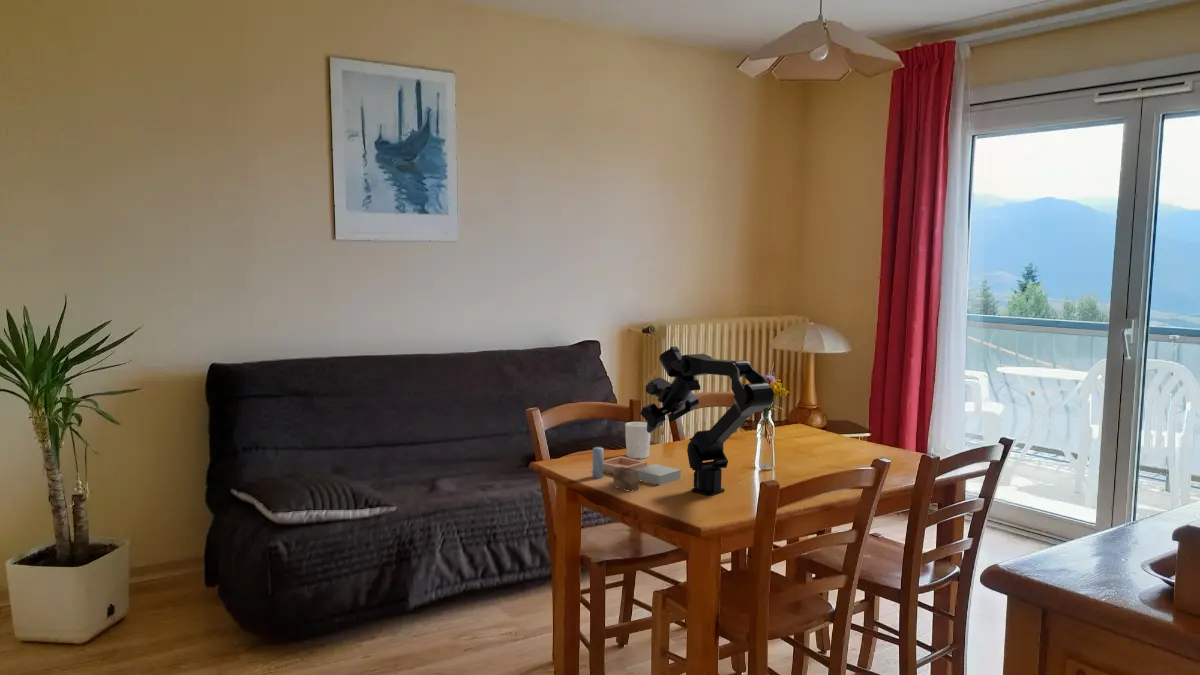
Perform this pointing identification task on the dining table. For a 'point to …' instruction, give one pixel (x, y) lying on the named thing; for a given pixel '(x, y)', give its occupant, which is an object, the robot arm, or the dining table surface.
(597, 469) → the dowel
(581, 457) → the dining table surface
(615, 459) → the tray
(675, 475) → the flat grey square block
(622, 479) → the block
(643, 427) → the white cup
